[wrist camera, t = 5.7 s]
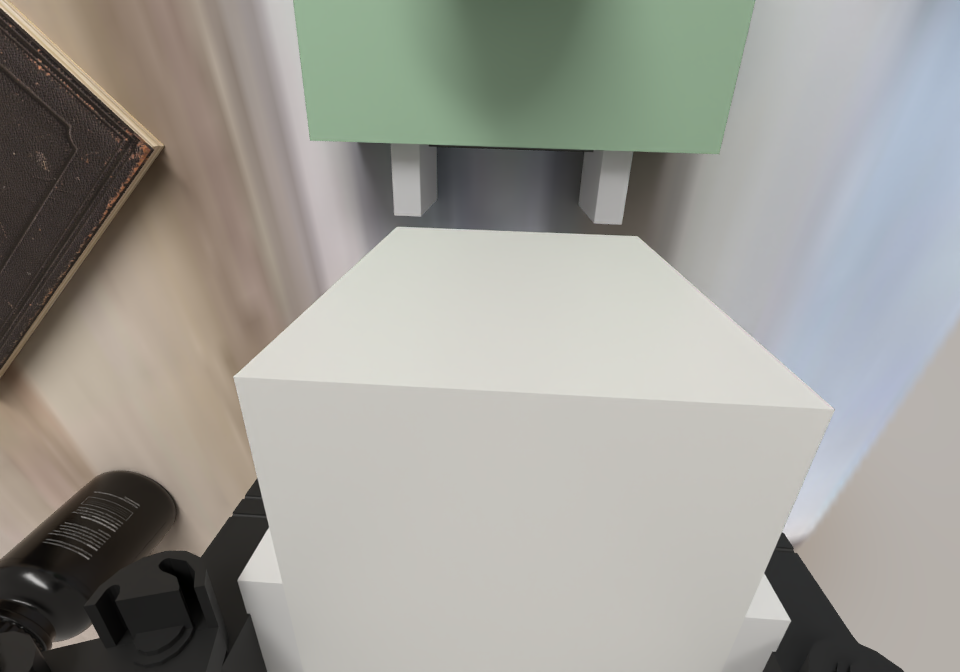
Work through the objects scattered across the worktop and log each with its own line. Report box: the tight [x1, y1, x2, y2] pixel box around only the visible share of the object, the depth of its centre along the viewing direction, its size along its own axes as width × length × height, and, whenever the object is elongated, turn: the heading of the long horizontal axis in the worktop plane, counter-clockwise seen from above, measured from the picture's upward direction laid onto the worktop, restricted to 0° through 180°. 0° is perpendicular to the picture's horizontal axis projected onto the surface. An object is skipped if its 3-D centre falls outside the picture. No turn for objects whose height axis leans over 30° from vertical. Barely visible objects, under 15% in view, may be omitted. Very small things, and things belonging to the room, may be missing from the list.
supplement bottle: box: [0, 471, 176, 652], centre depth 30 cm, size 7×7×12 cm
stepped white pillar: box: [234, 227, 835, 672], centre depth 11 cm, size 17×7×7 cm, turn 179°
